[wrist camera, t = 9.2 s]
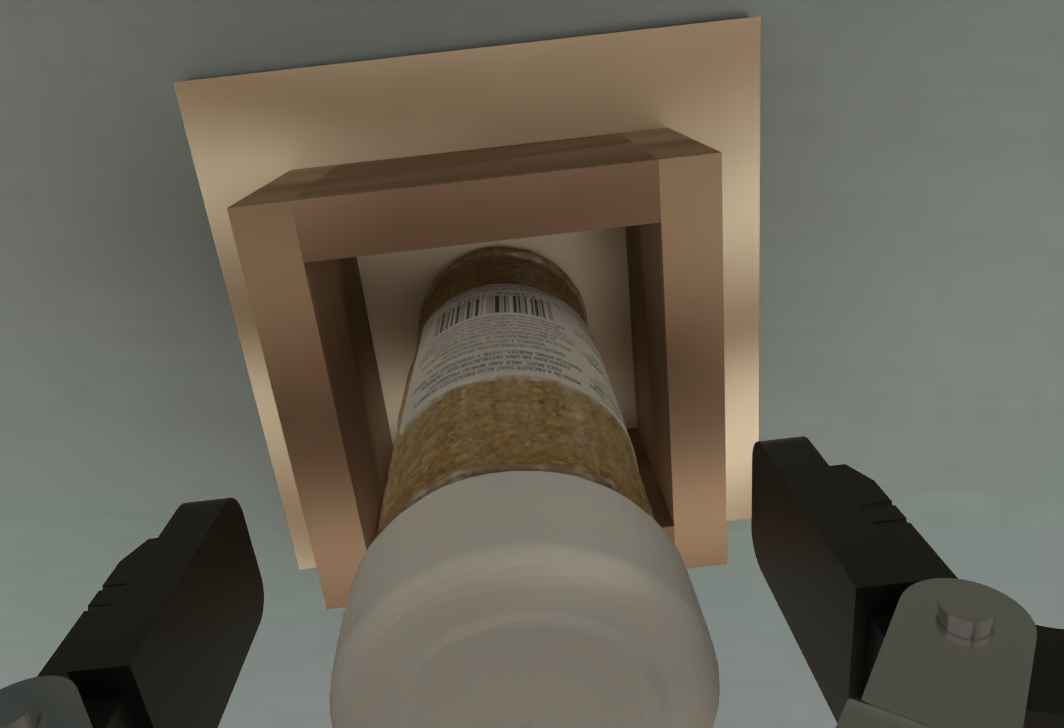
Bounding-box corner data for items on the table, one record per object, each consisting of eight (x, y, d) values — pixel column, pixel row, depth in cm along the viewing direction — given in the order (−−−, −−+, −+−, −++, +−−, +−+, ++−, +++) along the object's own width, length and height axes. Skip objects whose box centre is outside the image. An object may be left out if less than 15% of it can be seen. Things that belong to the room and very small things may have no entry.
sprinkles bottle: (411, 389, 22) (308, 855, 9) (430, 228, 20) (334, 537, 8) (572, 410, 22) (677, 879, 10) (604, 255, 21) (779, 585, 8)
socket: (185, 80, 19) (65, 93, 14) (750, 17, 19) (848, 5, 14) (305, 553, 25) (252, 695, 19) (750, 503, 25) (821, 630, 19)
